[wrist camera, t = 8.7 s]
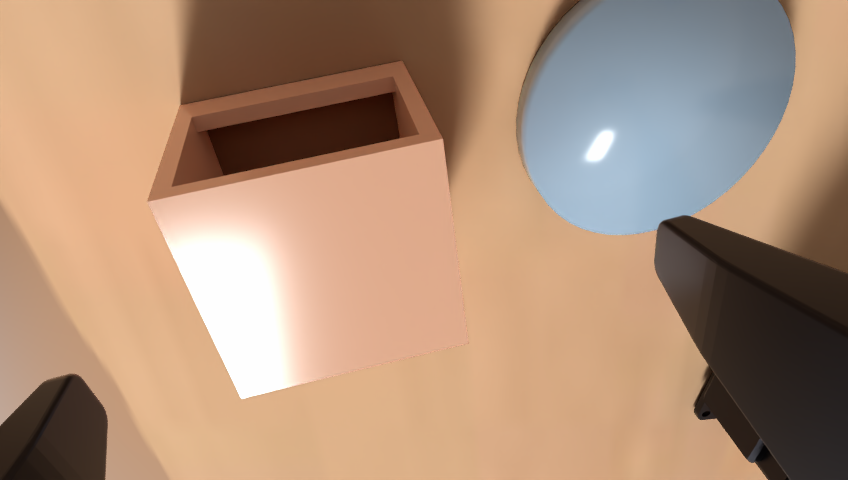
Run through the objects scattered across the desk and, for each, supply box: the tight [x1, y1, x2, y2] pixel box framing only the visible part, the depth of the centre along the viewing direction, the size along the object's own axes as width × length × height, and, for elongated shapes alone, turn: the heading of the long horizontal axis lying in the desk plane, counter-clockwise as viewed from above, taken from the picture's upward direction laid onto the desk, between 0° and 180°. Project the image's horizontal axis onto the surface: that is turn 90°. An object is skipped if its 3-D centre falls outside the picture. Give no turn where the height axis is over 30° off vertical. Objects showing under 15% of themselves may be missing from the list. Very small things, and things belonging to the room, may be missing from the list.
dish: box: [516, 0, 795, 235], centre depth 22 cm, size 10×10×1 cm
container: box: [147, 61, 469, 399], centre depth 19 cm, size 7×7×6 cm
